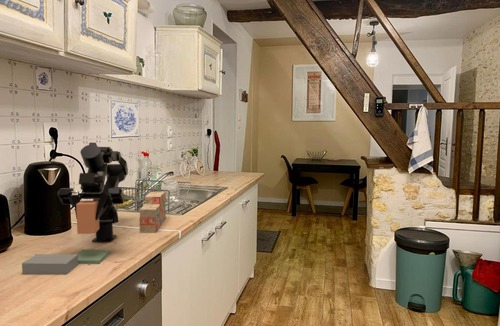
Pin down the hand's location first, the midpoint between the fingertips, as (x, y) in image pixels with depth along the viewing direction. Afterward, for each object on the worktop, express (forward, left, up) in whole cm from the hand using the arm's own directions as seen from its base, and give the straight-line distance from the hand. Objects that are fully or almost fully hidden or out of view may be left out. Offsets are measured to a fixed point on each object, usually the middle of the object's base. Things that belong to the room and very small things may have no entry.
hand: (86, 219), depth 108 cm
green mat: (-1, 0, -12) cm, 13 cm away
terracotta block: (-1, 0, -4) cm, 4 cm away
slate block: (+7, -7, -12) cm, 16 cm away
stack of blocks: (-38, +11, -13) cm, 42 cm away
